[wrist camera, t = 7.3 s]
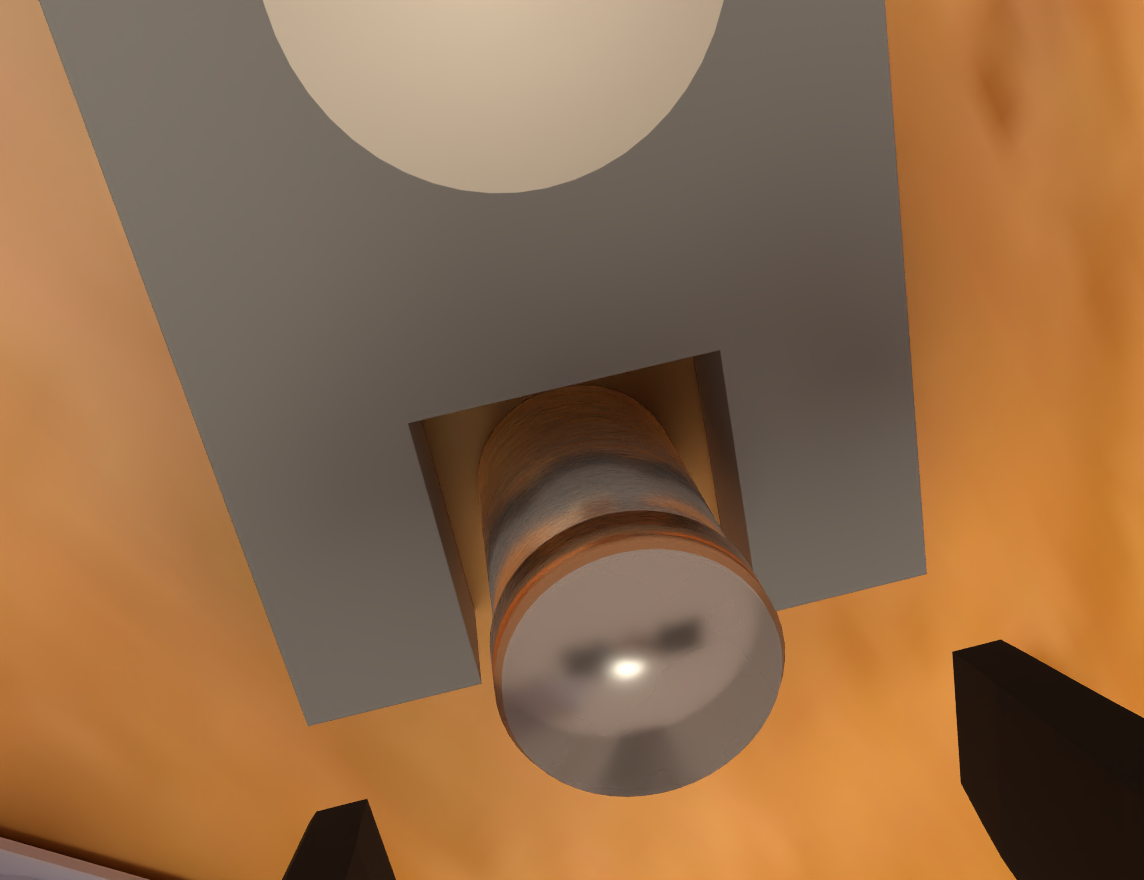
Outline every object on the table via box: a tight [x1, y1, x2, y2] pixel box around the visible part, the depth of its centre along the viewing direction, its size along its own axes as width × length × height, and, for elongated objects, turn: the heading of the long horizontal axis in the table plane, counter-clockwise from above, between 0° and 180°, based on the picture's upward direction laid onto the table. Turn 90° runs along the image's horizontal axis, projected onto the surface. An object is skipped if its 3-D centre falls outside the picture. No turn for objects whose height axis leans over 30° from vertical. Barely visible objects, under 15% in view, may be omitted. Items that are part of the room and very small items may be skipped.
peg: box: [477, 385, 785, 797], centre depth 18 cm, size 4×4×7 cm
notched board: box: [39, 0, 927, 726], centre depth 16 cm, size 16×12×8 cm
